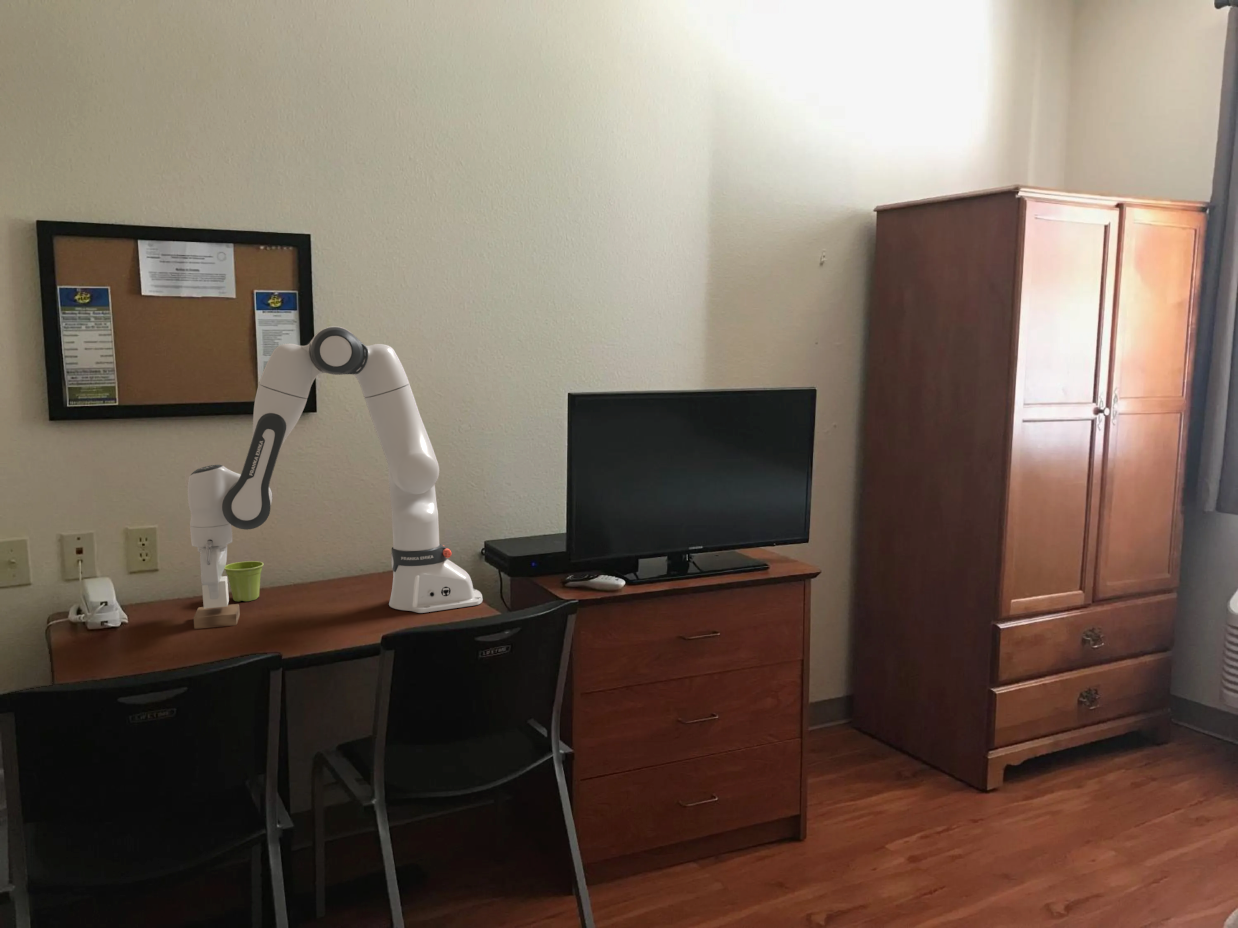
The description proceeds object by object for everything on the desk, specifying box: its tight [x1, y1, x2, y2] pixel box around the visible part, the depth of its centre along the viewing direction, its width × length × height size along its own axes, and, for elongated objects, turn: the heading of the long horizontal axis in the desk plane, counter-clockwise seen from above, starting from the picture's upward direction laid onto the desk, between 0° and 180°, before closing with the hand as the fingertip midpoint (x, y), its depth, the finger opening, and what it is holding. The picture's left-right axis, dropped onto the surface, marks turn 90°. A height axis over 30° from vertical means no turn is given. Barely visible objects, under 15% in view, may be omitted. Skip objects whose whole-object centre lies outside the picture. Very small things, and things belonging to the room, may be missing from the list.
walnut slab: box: [193, 603, 241, 630], centre depth 235 cm, size 9×9×3 cm
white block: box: [201, 575, 230, 609], centre depth 235 cm, size 5×5×6 cm
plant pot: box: [224, 560, 264, 603], centre depth 254 cm, size 9×9×9 cm
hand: (216, 594), depth 235 cm, fingers closed on white block, 5 cm apart
